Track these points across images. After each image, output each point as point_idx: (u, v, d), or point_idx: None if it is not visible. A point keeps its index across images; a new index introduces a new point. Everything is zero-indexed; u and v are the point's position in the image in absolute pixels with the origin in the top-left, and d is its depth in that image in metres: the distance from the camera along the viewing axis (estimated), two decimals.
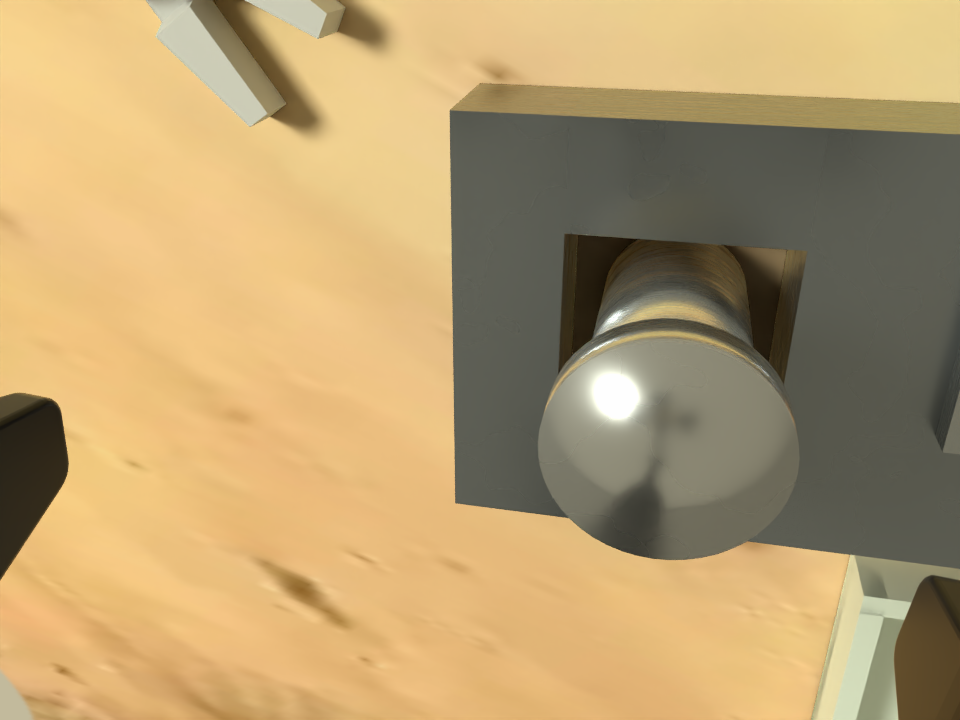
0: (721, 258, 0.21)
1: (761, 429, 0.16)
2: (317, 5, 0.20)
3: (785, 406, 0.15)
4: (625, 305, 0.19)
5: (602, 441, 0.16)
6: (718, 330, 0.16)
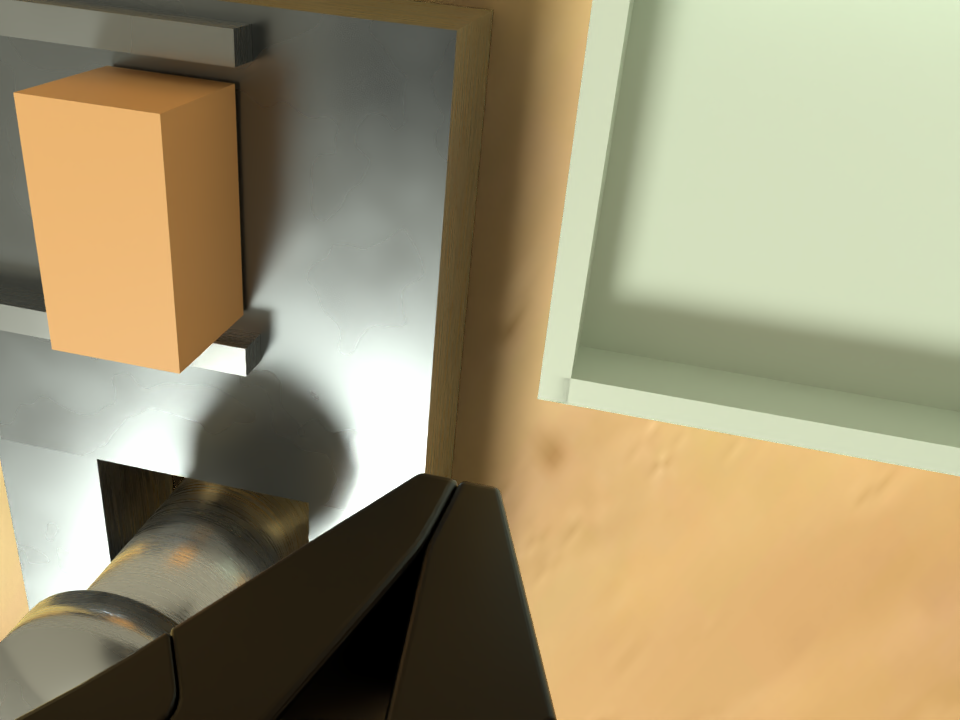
0: None
1: (45, 651, 0.17)
2: None
3: (22, 629, 0.17)
4: None
5: None
6: None
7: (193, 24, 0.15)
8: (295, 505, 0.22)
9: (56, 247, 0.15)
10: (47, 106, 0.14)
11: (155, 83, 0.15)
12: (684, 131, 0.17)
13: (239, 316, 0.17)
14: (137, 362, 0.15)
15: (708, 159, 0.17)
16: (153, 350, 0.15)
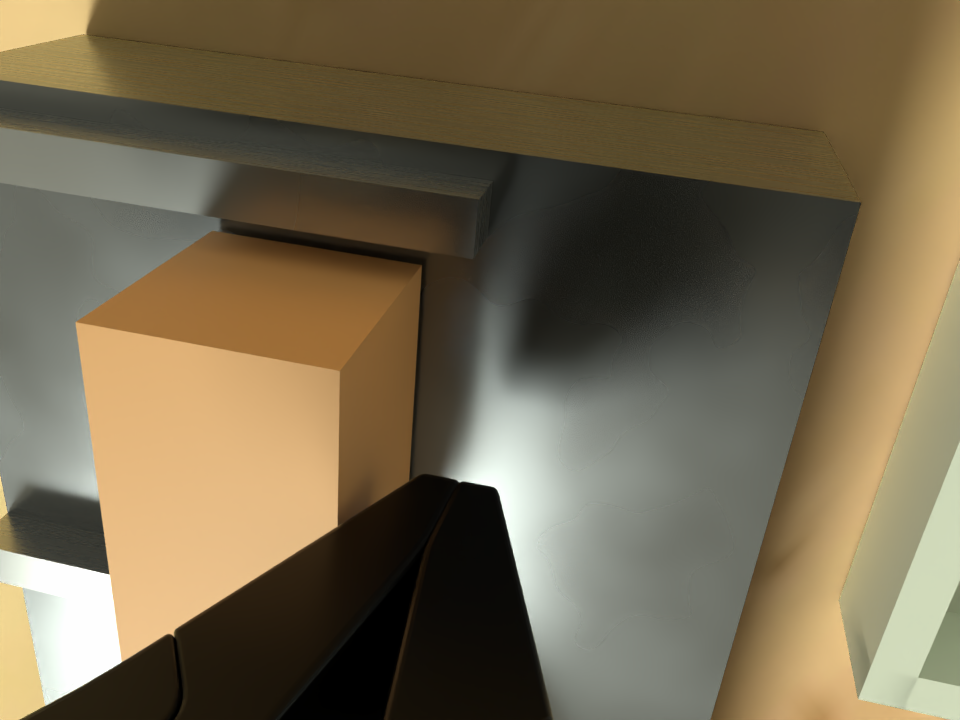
0: None
1: None
2: None
3: None
4: None
5: None
6: None
7: (408, 190, 0.09)
8: None
9: (139, 552, 0.09)
10: (135, 347, 0.08)
11: (300, 273, 0.09)
12: None
13: None
14: None
15: None
16: None
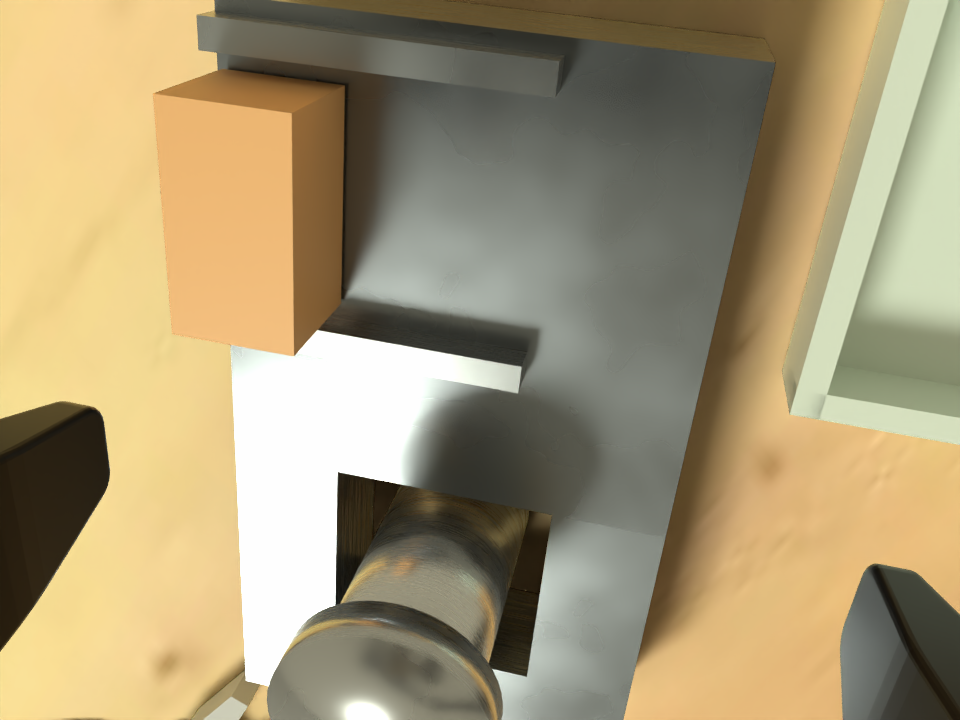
0: (402, 486, 0.23)
1: (339, 660, 0.17)
2: (227, 699, 0.28)
3: (317, 639, 0.17)
4: None
5: None
6: (289, 644, 0.18)
7: (519, 56, 0.15)
8: (513, 516, 0.22)
9: (183, 238, 0.16)
10: (184, 106, 0.15)
11: (273, 85, 0.16)
12: (953, 156, 0.17)
13: (338, 305, 0.19)
14: (254, 345, 0.17)
15: None
16: (270, 334, 0.16)
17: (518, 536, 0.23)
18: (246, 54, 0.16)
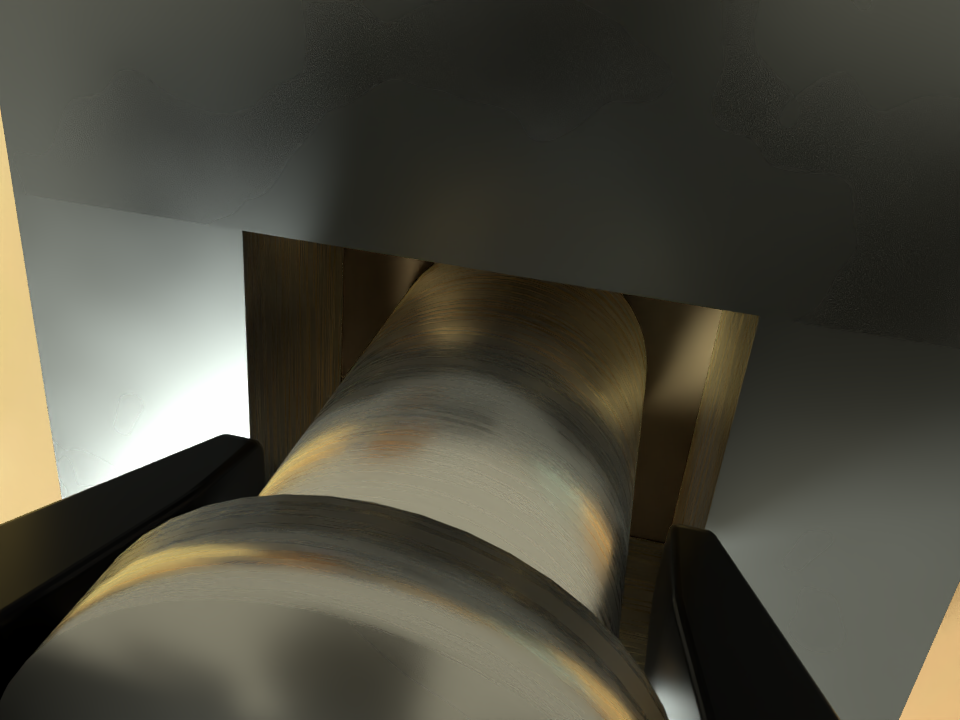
0: (394, 310, 0.11)
1: (181, 678, 0.05)
2: None
3: (107, 610, 0.05)
4: None
5: None
6: None
7: None
8: (630, 363, 0.11)
9: None
10: None
11: None
12: None
13: None
14: None
15: None
16: None
17: (640, 406, 0.11)
18: None
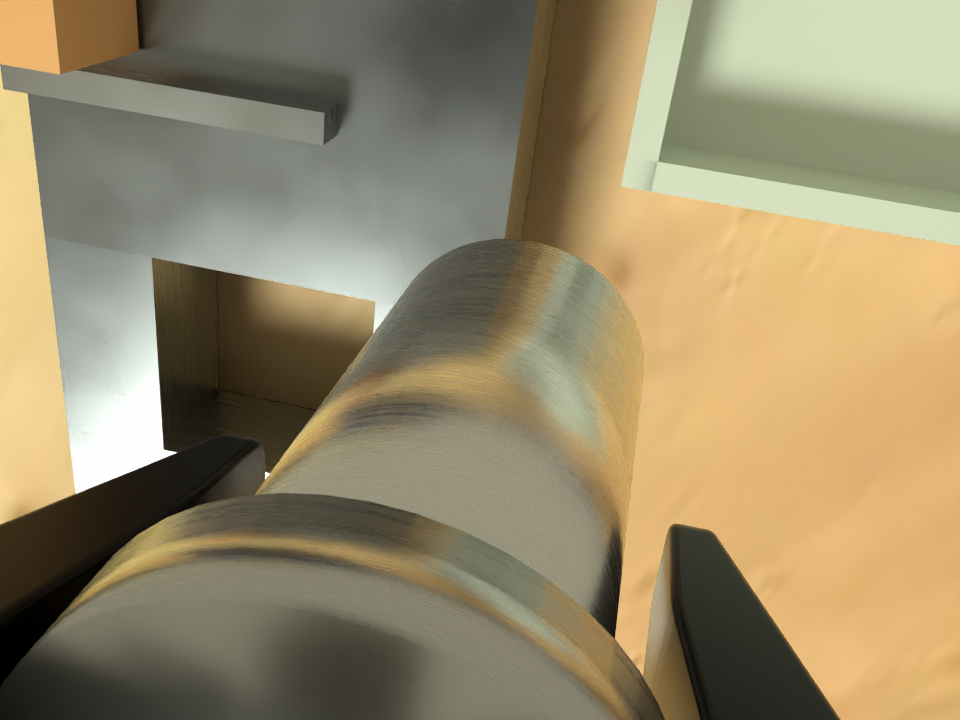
0: (391, 310, 0.11)
1: (175, 677, 0.05)
2: None
3: (101, 609, 0.05)
4: None
5: None
6: None
7: None
8: (627, 362, 0.11)
9: None
10: None
11: None
12: None
13: (134, 51, 0.17)
14: (17, 62, 0.15)
15: None
16: (32, 48, 0.15)
17: (637, 405, 0.11)
18: None
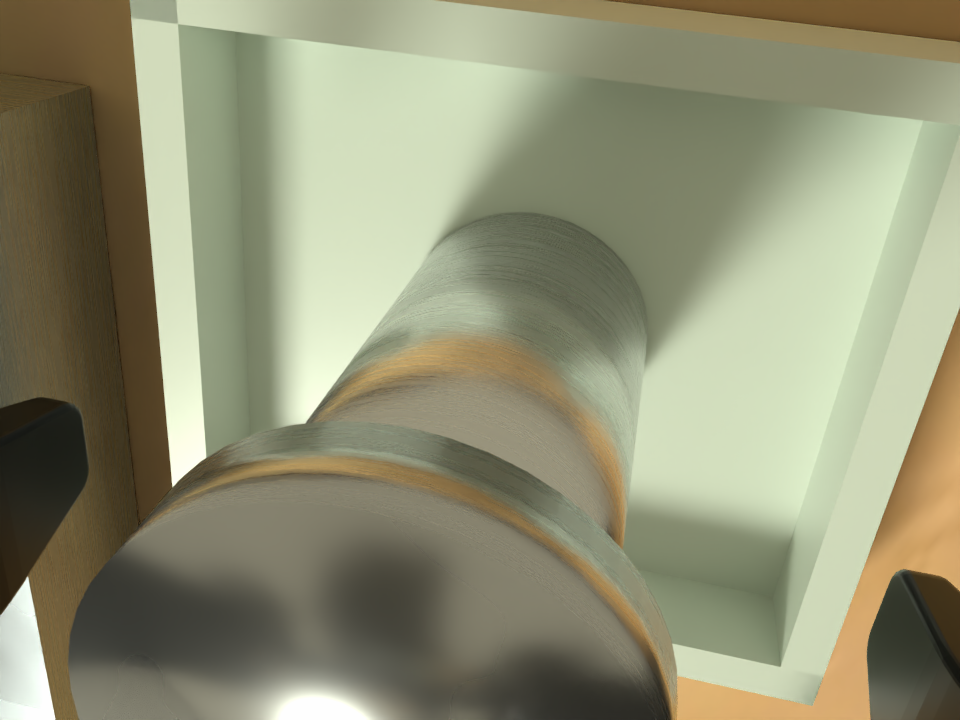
0: (412, 278, 0.12)
1: (242, 574, 0.06)
2: None
3: (179, 515, 0.06)
4: None
5: None
6: None
7: None
8: (632, 326, 0.11)
9: None
10: None
11: None
12: (326, 242, 0.13)
13: None
14: None
15: (360, 276, 0.13)
16: None
17: (641, 366, 0.11)
18: None
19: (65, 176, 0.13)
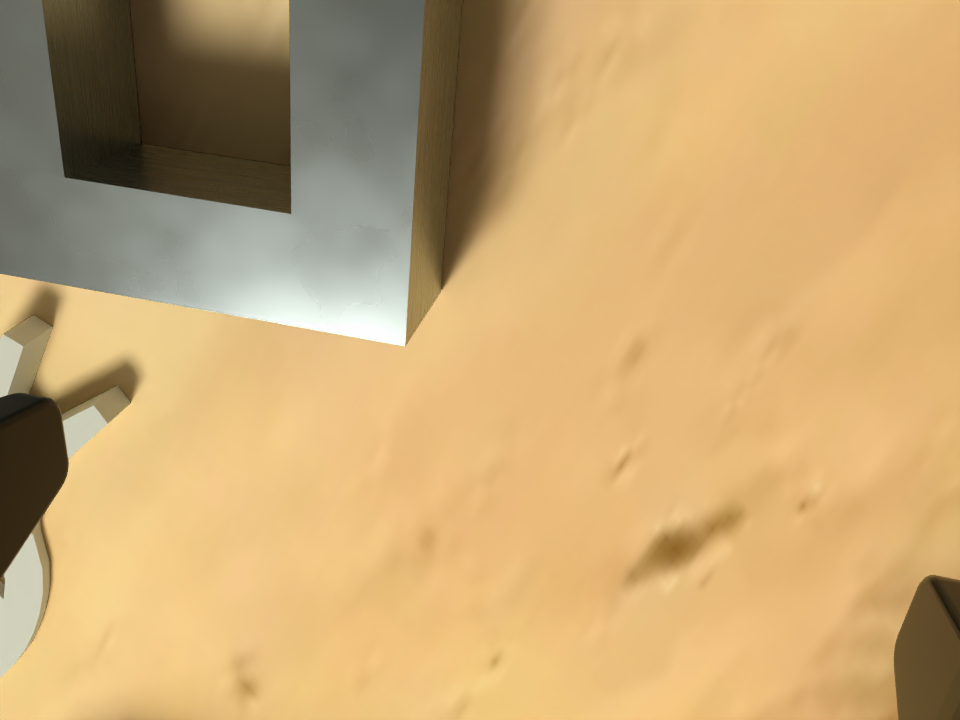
0: None
1: None
2: (0, 339, 0.24)
3: None
4: None
5: None
6: None
7: None
8: None
9: None
10: None
11: None
12: None
13: None
14: None
15: None
16: None
17: None
18: None
19: None
